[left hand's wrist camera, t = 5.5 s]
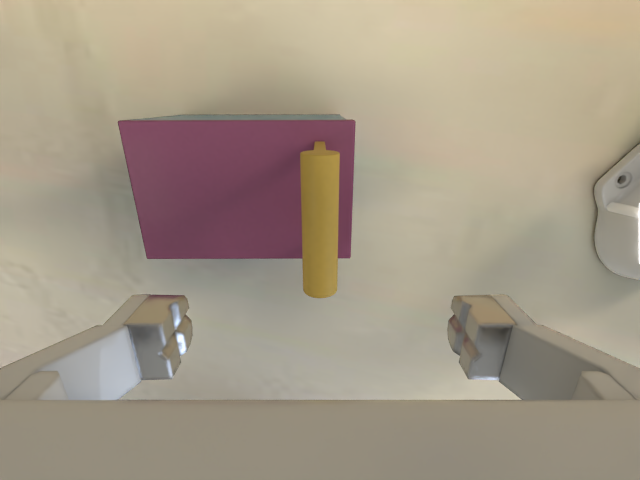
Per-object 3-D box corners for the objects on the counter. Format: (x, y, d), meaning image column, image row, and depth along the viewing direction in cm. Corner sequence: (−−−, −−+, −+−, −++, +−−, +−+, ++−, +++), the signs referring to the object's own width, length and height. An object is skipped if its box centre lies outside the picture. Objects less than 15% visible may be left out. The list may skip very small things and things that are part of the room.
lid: (353, 119, 23) (372, 128, 15) (349, 252, 27) (362, 316, 19) (126, 120, 23) (23, 129, 15) (153, 253, 27) (82, 317, 19)
